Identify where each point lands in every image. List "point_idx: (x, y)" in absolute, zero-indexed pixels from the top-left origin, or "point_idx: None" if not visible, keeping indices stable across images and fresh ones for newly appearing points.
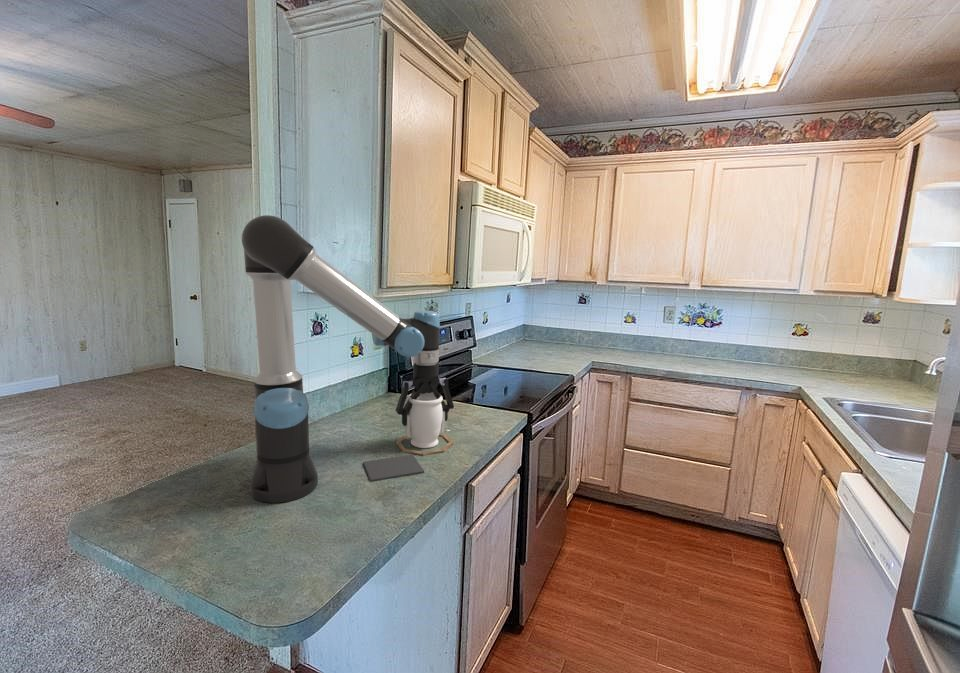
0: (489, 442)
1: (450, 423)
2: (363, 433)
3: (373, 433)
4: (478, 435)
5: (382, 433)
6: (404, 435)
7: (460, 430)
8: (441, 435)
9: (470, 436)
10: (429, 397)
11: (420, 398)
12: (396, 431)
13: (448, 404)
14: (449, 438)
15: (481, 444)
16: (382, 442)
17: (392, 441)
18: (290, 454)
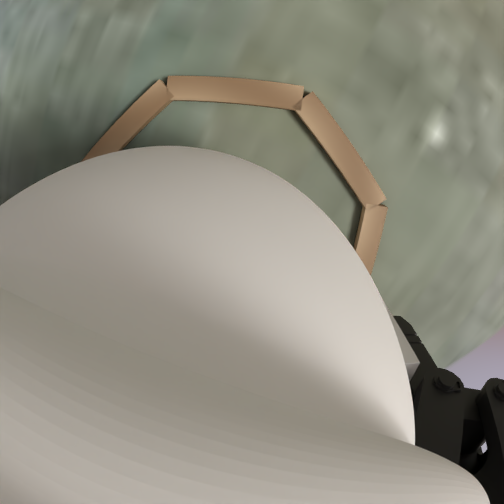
0: (468, 346)
1: (479, 59)
2: (10, 23)
3: (36, 25)
4: (493, 272)
5: (65, 28)
6: (137, 103)
7: (479, 174)
8: (359, 198)
9: (468, 267)
10: (359, 412)
11: (34, 256)
12: (134, 12)
13: (473, 431)
14: (370, 266)
15: (438, 354)
16: (33, 144)
17: (69, 146)
18: None
